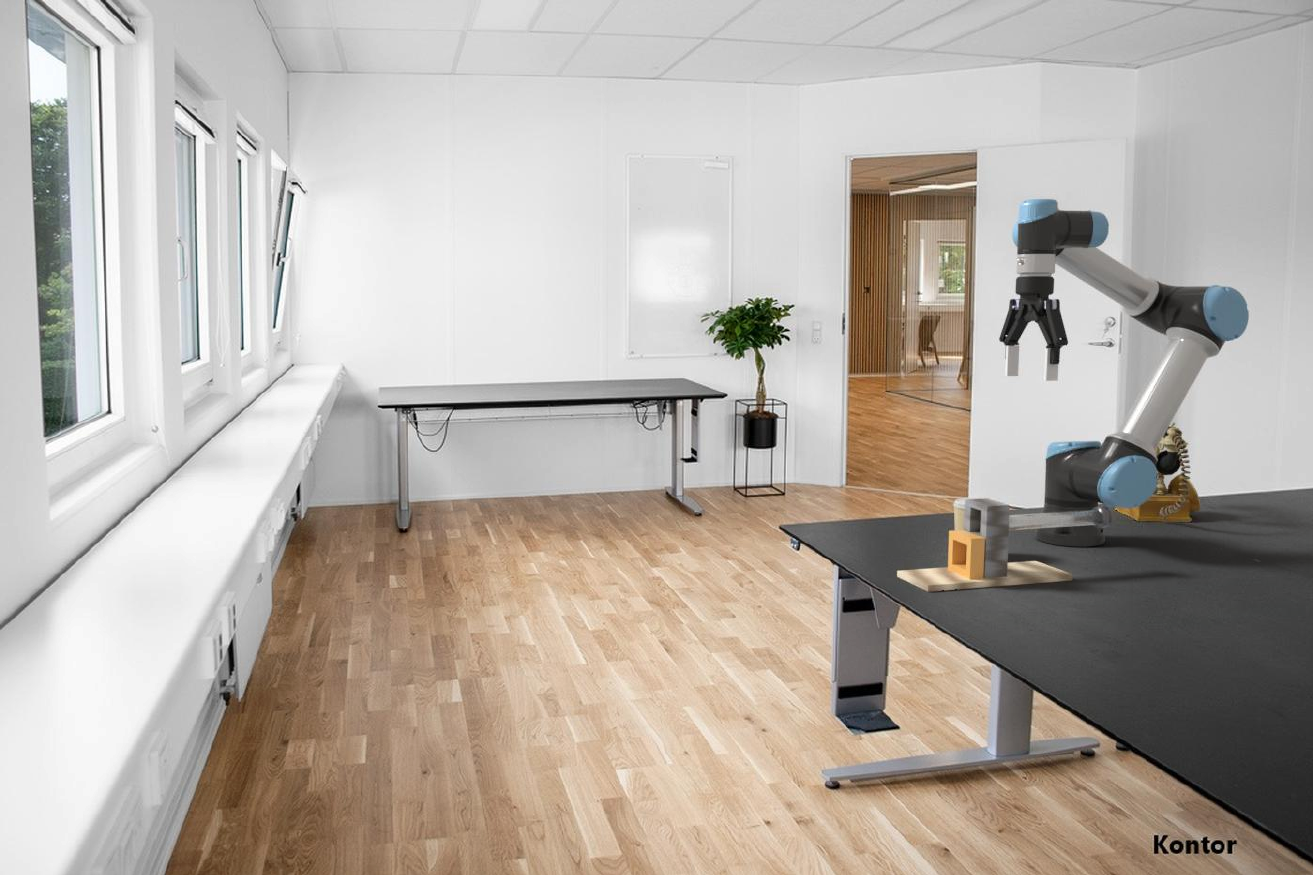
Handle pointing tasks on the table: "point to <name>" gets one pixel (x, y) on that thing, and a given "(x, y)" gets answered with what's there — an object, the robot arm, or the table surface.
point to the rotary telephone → (1180, 490)
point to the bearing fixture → (986, 555)
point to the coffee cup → (960, 513)
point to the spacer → (966, 554)
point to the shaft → (1062, 519)
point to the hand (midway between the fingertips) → (1030, 378)
